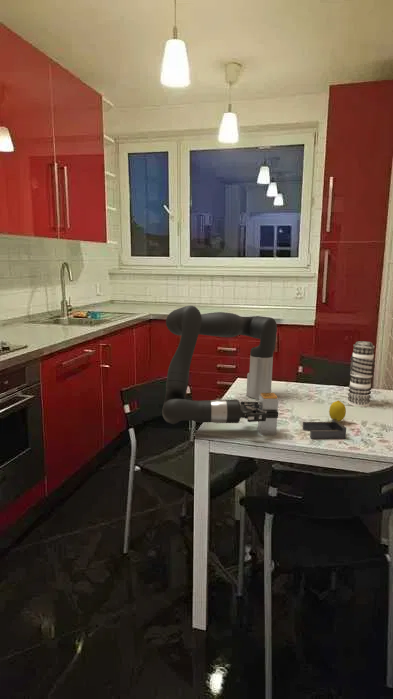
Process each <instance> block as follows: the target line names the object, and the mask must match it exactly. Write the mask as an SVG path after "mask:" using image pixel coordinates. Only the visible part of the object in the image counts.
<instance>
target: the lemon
mask: <svg viewBox="0 0 393 699" xmlns="http://www.w3.org/2000/svg"><path fill="white" fill-rule="evenodd" d="M346 410H347V409H346V406H345V404H344V403H343V402H342V401H340V400H336V401H333V402H332V403H331V404H330V406H329V411H328V413H329V417H330V418H331V420H332V419H337V420H338V421H339V422H340V421H342V420H344V419H345V417H346V414H347V413H346V412H347V411H346Z"/></svg>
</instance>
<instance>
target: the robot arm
mask: <svg viewBox="0 0 393 699" xmlns="http://www.w3.org/2000/svg"><path fill="white" fill-rule="evenodd" d="M165 325H166V327H167V330H168V331H169V332H171V334H174V335H175V336H179V337H180V340H179V343H178V346H177V348H176V350H175V353H174V355H172V358H171V360H170V363H169V366H168V369H167V375H166V383H165V395H164V402H163V406H162V410H161V413H162V414H161V415H162V418H163V419H164V421H165V422H166V423H168V424H172V425H175V424H178V423H179V422H181V421H193V422H195V423H213V424H215V423H216V424H238V423H240V420H241V419H245V420H247V422H249V423H256V422H257V423H258V422H259V421H266V418H277V419H278V418H279V410H278V411H263V410H260V409H259V401H239V399H213V400H209V399H207V400H205V399H204V400H192V399H187V398H186V394H187V390H188V385H189V379H190V378H189V377H190V369H191V364H192V358H193V356H194V352H195V348H196V345H197V343H198V342H197V341H198V338H199V335H202V336H209V337H219V338H234V337H237V336H246V337H249V338H253V339H258V340H259V345H257V346H255V347H252V348H251V349H250V353H249V354H250V356H249V372H247V375H246V395H245V396H248V397H249V398H251V399H256V400H259V395H260V394H261V393H272V382H273V381H272V380H273V362H274V360H273V359H274V352H275V349H276V342H277V332H278V326H277V320H275V319H274V318H272V317H269V316H263V315H262V316H260V315H253V316H252V315H251V316H240V315H238V314H236V313H233V312H225V311H224V312H223V311H216V312H207V313H201V312H200V309H198V308H197V307H196V306H195V305H186V306H181V307H178V308H177V309H174V310H172V311H171V312H170V313H169V314H168V315H167V316H166V319H165ZM260 415H262V416H260Z"/></svg>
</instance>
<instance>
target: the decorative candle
mask: <svg viewBox="0 0 393 699" xmlns="http://www.w3.org/2000/svg"><path fill="white" fill-rule="evenodd" d="M352 346H353V349H352V350H353V351H352V354H351V355H350V358H349V359H350V361H351V362H350V363H349V366H350V367H349V369H350V372H349V375H350V381H349V385H348V388H349V389H348V393H347V404H349V405H351V406H354V407H359V408H360V407H361V408H363V407H364V408H365V407H369V406H370V402H371V394H372V391H371V390H372V383H371V382H372V378H373V375H374V373H373V372H374V368H373V367H375V364H374V363H375V362H376V360H374V357H375V355H374V351H375V347H376V345H373V342H371V341H365V340H364V341H363V340H360V341H356V342H355V344H353V345H352Z"/></svg>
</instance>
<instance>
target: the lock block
mask: <svg viewBox="0 0 393 699" xmlns="http://www.w3.org/2000/svg"><path fill="white" fill-rule="evenodd" d="M258 402H259V409H260V410H263V411H278V412H279V410H278V409H279V398H278V396H277V395H276V393H275V392H271V393H261V394H260V395H259V399H258ZM260 416H262V415H260ZM277 426H278V418H266V421H259V422H257V430H258V432H259V433H260V435H265V436H266V435H272V436H273V435H274V436H275V435H277V428H278V427H277Z"/></svg>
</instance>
